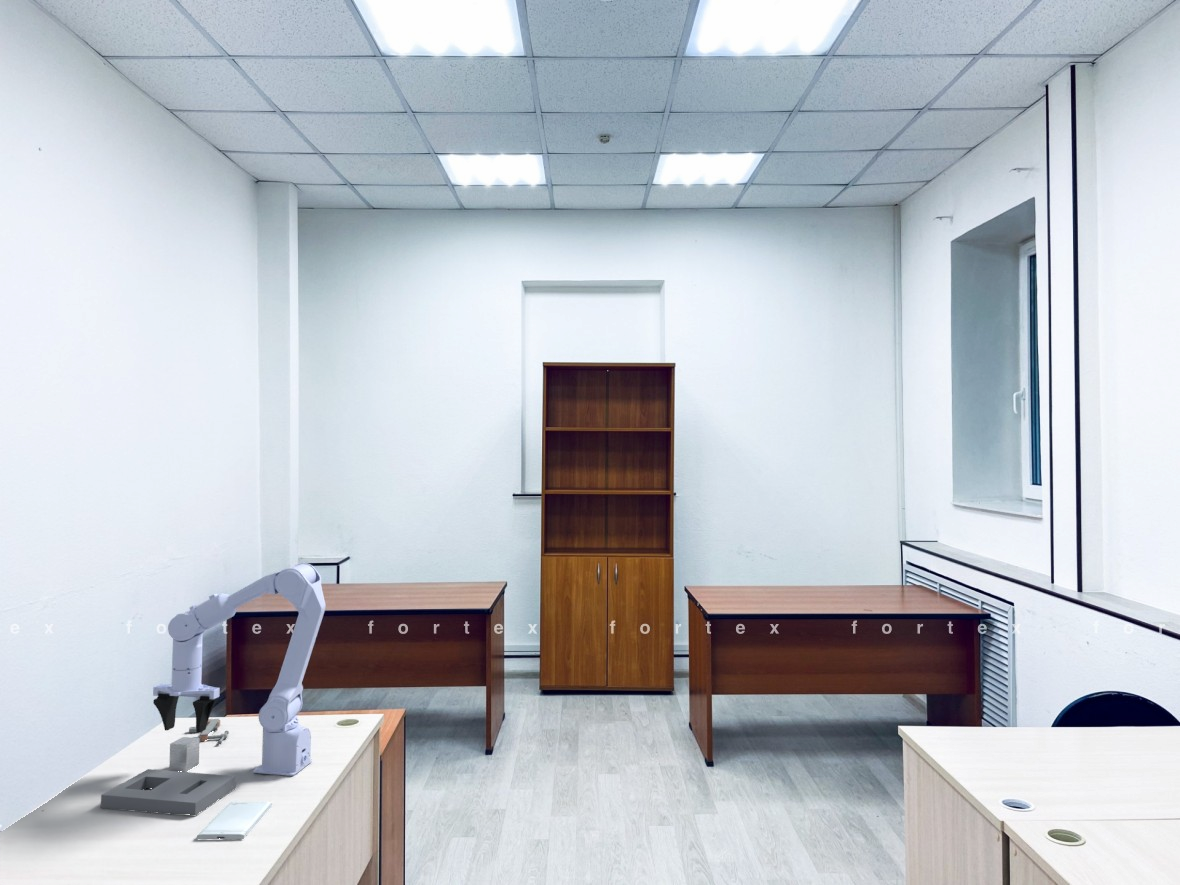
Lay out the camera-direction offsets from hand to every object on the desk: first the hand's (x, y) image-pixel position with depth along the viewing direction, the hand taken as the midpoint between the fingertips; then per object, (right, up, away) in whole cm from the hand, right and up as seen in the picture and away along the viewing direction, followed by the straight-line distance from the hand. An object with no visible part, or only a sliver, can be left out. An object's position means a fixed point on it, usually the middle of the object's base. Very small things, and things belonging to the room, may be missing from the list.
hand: (185, 729), depth 157 cm
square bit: (0, -8, 0) cm, 8 cm away
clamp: (-5, -10, +19) cm, 22 cm away
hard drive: (+23, -9, -24) cm, 34 cm away
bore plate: (+5, -8, -14) cm, 17 cm away
